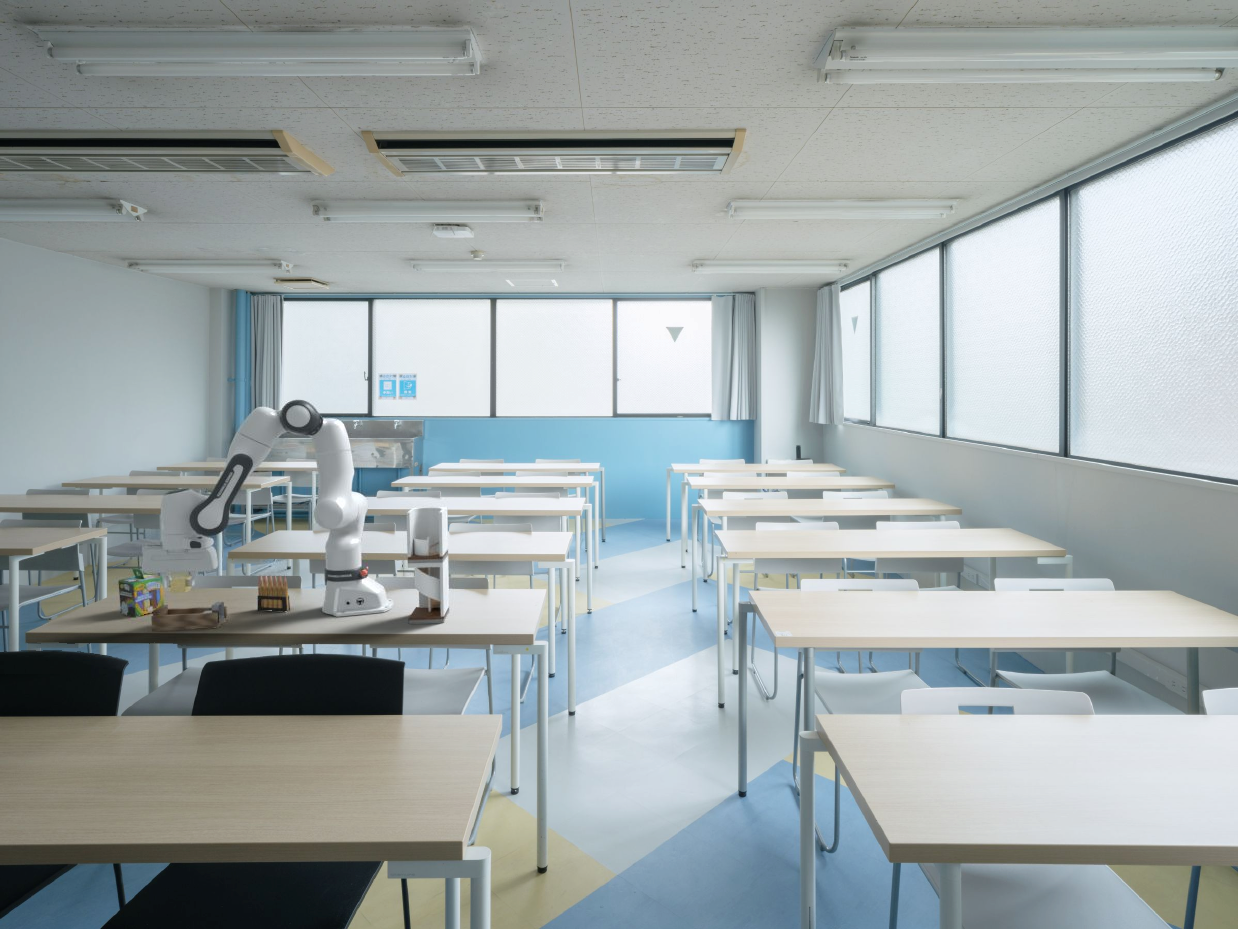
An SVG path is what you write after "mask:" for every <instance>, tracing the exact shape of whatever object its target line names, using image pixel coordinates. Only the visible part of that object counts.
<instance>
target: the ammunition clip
mask: <svg viewBox="0 0 1238 929" xmlns="http://www.w3.org/2000/svg"><path fill="white" fill-rule="evenodd" d="M276 575H277V574H276ZM276 575H273V576H274V577H272V575H271V574H270V575H268V576H267V575H266V574H264V577H263V576H262V574H259V576H258V587H257V590H258V592H257V593H258V594H257V611H258V610H272V611H271V612H275V611H287V612H289V610H290V611H291V605H290V603H291V602H290V595H289V587H288V580H287V577H286V575H284V576H283V577H282V576H281V575H278V578H277V576H276ZM282 578H283V579H282Z"/></svg>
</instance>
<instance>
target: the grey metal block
mask: <svg viewBox="0 0 1238 929" xmlns="http://www.w3.org/2000/svg"><path fill="white" fill-rule="evenodd" d="M224 606H225V601H216V602H215V603H214V604H212V605H211V607H212V610H211V611H205V612H203V613H218V623H220V622H221V621H222V620H224V619H225V616H224Z"/></svg>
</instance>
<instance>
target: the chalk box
mask: <svg viewBox="0 0 1238 929" xmlns="http://www.w3.org/2000/svg"><path fill="white" fill-rule="evenodd" d="M132 572H133V574H134V576H131V577H126V578H122V579H118V592H119V593H118V594H119V604H120V605H119V607H120V608H119V609H120V614H121V613H123V614H122V615H125V614H127V615H126V616H129V615H130V616H129V617H132V616H135V617H134V618H137V617H136V616H139V615H142V616H145V615H144V614H146V615H149V614H148V613H150V614H153V613H152V612H153V610H155V609H156V608H158V607H160V606H162V605H165V599H164V588H163V576H161V575H154V574H143V571H142V569H139V568H135V567H134V568H132ZM137 572H138V573H139V574H138V573H137ZM139 617H140V616H139Z"/></svg>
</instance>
